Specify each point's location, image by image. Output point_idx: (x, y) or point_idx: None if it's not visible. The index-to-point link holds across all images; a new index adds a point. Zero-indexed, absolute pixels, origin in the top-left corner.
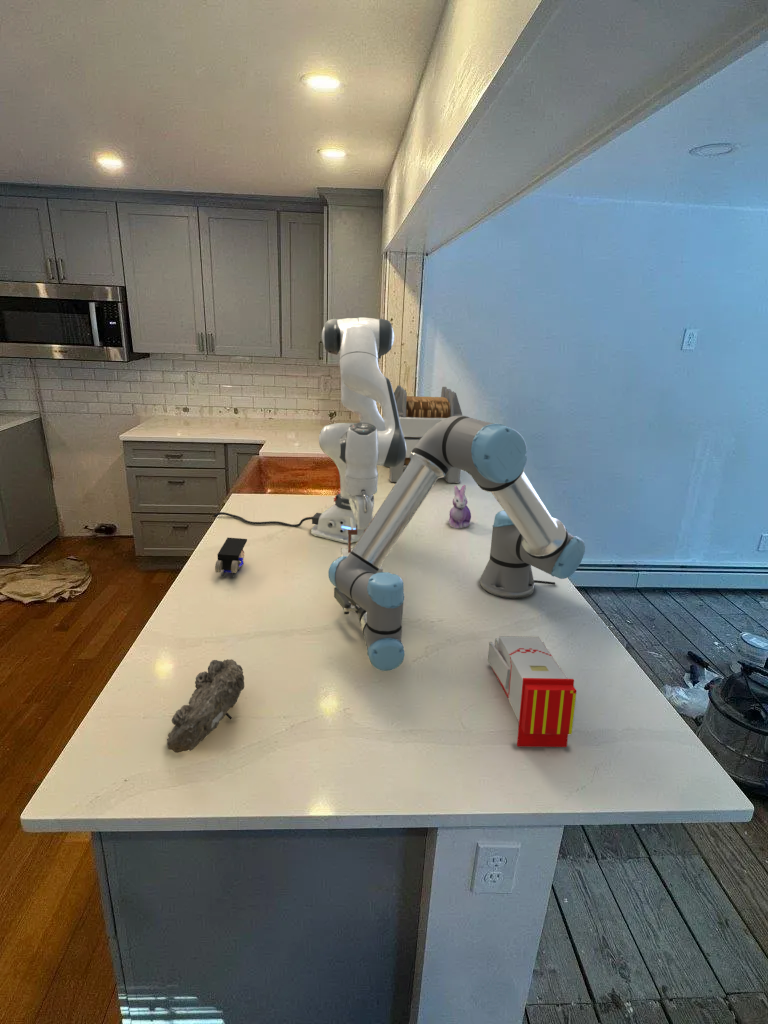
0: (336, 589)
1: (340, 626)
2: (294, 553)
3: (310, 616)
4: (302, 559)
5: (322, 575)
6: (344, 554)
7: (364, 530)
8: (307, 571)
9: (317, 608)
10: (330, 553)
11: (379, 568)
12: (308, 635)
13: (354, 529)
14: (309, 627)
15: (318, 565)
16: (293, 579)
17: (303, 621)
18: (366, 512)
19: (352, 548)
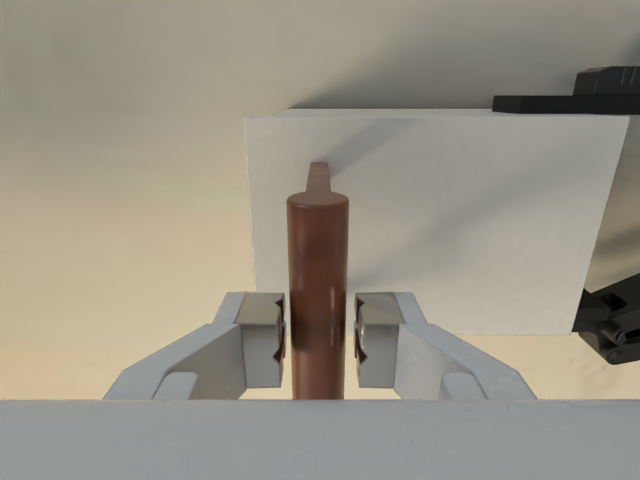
0: (629, 357)
1: (612, 280)
2: (36, 389)
3: (518, 359)
4: (87, 366)
5: None
6: (352, 326)
7: (337, 286)
8: None
9: (473, 338)
10: (7, 264)
11: (614, 140)
12: (625, 369)
13: (314, 381)
14: (582, 365)
15: (136, 316)
16: (257, 396)
17: (542, 378)
18: (272, 451)
19: (262, 272)
